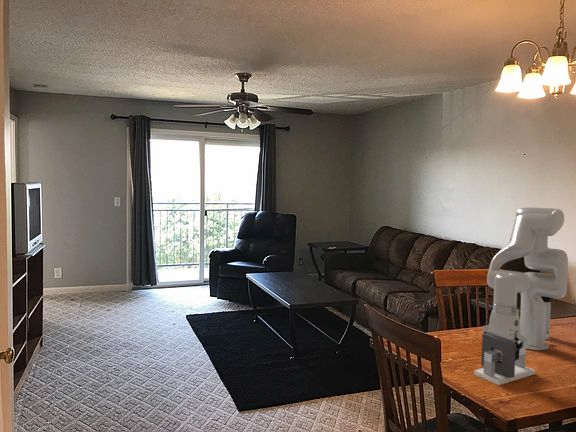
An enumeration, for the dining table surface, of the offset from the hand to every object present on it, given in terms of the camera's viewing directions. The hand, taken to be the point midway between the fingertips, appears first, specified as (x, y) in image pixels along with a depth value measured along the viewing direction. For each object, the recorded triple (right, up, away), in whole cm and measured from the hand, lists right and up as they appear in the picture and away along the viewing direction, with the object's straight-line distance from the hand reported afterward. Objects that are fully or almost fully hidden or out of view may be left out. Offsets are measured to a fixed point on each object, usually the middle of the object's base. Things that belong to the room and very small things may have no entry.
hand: (502, 355), depth 164 cm
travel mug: (+38, -5, +43) cm, 57 cm away
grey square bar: (+1, -1, +1) cm, 2 cm away
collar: (-2, -5, -1) cm, 6 cm away
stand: (+1, -7, +1) cm, 7 cm away
